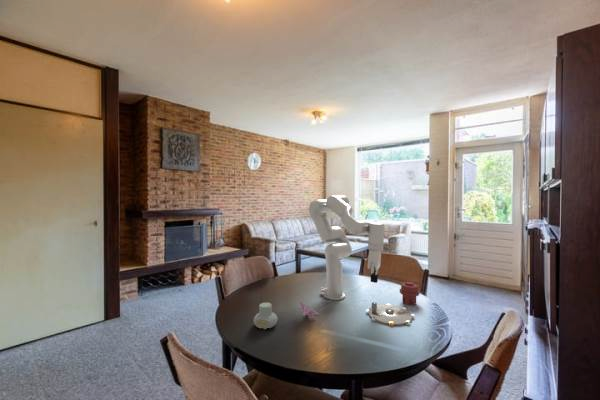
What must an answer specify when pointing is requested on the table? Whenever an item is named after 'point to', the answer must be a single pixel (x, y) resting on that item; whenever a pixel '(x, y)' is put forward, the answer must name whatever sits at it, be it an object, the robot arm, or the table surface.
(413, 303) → the mechanical component
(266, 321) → the air freshener
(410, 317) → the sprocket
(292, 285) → the table surface
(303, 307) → the lily
